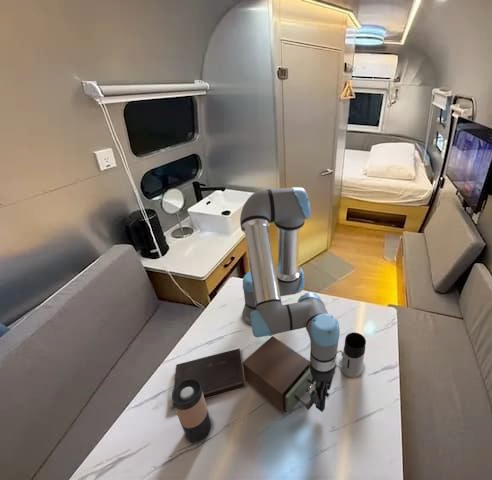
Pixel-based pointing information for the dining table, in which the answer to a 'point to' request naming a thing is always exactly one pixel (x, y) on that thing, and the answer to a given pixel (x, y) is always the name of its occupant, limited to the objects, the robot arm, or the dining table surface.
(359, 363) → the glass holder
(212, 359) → the hardcover book
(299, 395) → the drawer
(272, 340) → the cabinet
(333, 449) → the dining table surface
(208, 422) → the travel mug
